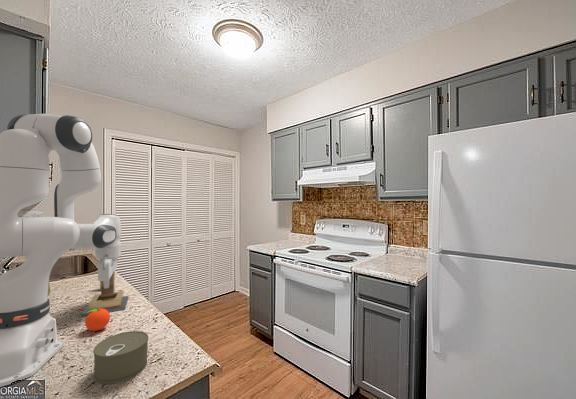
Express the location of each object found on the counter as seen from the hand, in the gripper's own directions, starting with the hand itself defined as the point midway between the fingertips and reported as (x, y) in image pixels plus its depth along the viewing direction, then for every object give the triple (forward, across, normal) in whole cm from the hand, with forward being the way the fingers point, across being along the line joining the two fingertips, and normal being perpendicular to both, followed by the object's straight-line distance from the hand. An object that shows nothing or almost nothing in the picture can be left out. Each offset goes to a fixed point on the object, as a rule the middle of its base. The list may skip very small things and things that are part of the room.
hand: (107, 285), depth 107 cm
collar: (+8, 0, 0) cm, 9 cm away
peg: (+4, 0, 0) cm, 4 cm away
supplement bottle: (+9, +26, +4) cm, 28 cm away
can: (+8, -50, -10) cm, 52 cm away
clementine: (+8, -22, 0) cm, 24 cm away
